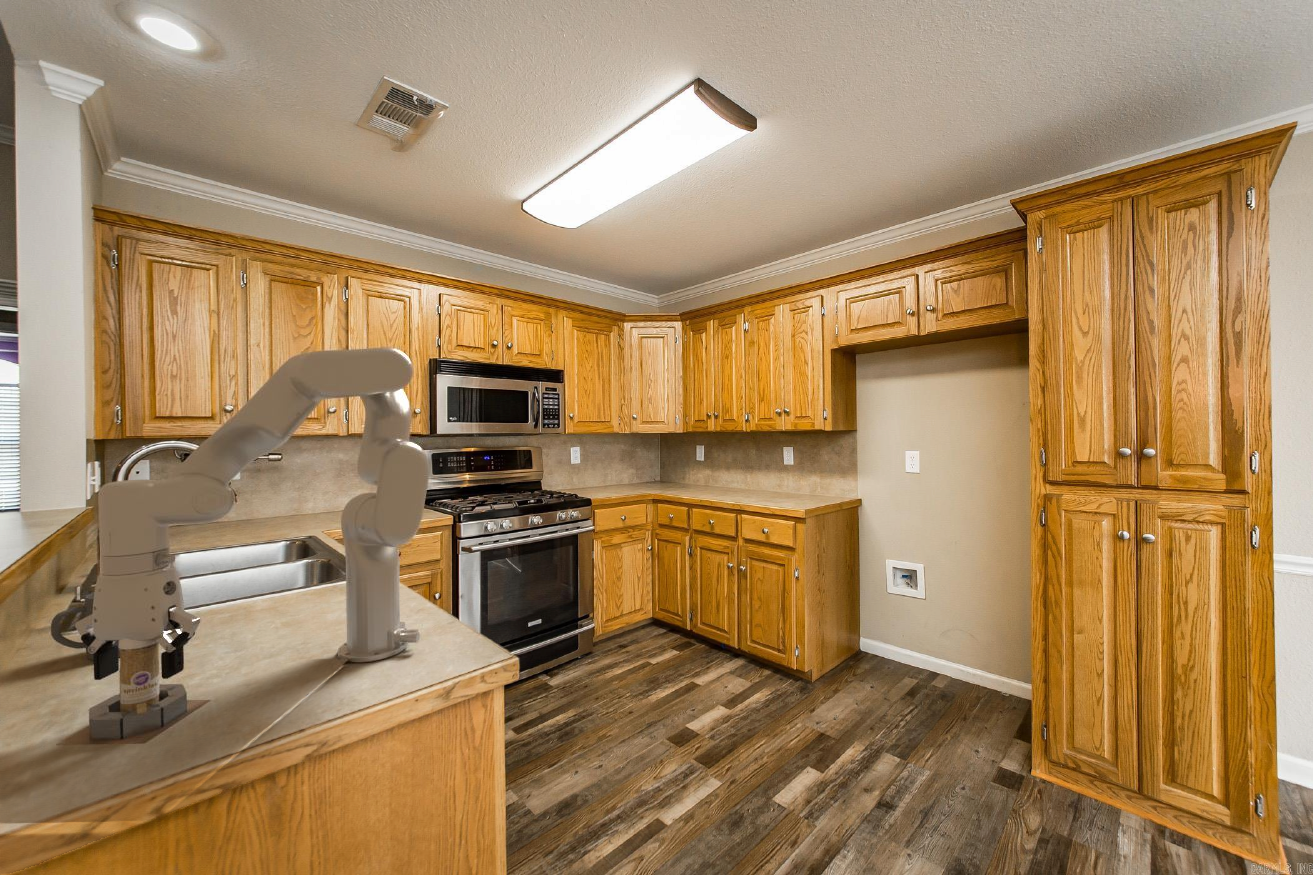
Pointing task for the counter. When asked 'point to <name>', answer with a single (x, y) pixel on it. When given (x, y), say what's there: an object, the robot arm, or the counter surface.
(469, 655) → the counter surface
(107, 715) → the ring
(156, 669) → the sprinkles bottle
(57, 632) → the mug
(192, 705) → the walnut board
